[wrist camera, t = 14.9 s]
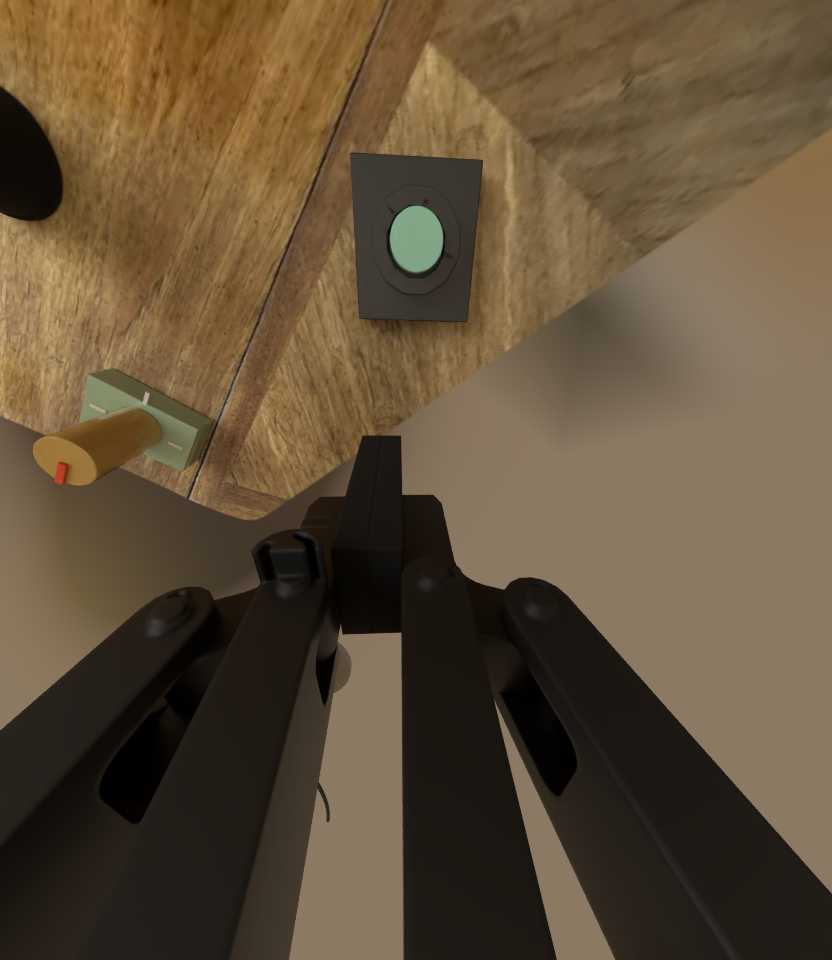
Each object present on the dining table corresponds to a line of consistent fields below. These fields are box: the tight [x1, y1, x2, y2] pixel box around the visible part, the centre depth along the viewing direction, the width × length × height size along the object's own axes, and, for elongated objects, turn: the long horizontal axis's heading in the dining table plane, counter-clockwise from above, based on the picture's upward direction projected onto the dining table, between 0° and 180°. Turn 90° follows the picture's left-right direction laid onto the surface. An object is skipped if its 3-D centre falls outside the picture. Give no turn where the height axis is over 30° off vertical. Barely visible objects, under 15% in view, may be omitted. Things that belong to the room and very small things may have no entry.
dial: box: [33, 407, 162, 485], centre depth 28 cm, size 4×4×8 cm
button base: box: [350, 153, 483, 322], centre depth 26 cm, size 11×10×4 cm
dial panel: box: [79, 369, 213, 472], centre depth 33 cm, size 10×9×3 cm
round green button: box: [390, 206, 443, 274], centre depth 24 cm, size 4×4×2 cm
